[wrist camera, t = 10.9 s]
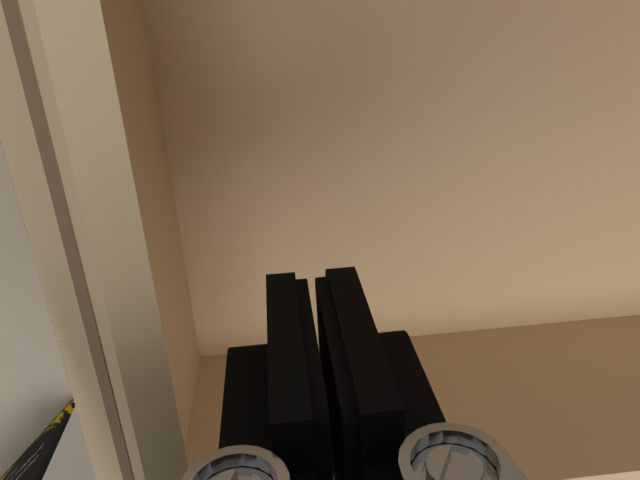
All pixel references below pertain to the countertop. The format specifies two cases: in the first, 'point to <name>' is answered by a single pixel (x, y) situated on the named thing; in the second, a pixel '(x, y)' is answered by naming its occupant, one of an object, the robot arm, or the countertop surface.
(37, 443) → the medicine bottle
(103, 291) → the flap
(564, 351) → the carton
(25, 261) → the countertop surface
